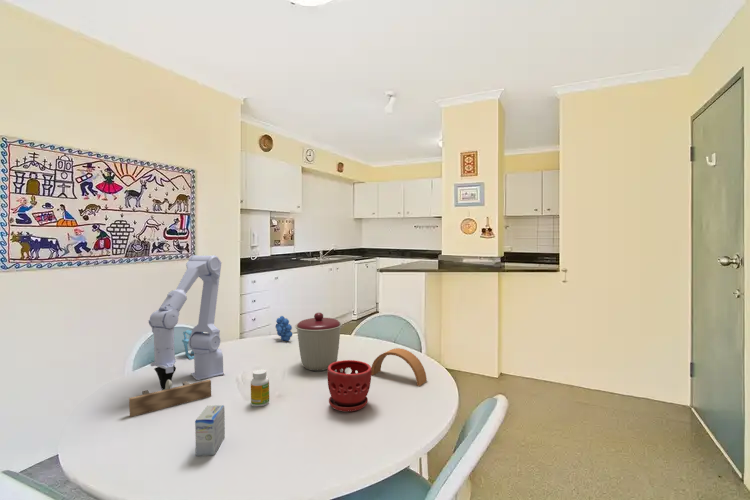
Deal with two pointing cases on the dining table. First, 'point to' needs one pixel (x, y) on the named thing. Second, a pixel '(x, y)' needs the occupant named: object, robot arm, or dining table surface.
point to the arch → (406, 356)
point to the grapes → (283, 328)
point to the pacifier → (168, 385)
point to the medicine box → (210, 430)
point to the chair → (187, 343)
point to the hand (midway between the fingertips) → (165, 389)
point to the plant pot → (348, 385)
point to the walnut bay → (169, 397)
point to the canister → (318, 341)
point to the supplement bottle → (259, 388)
